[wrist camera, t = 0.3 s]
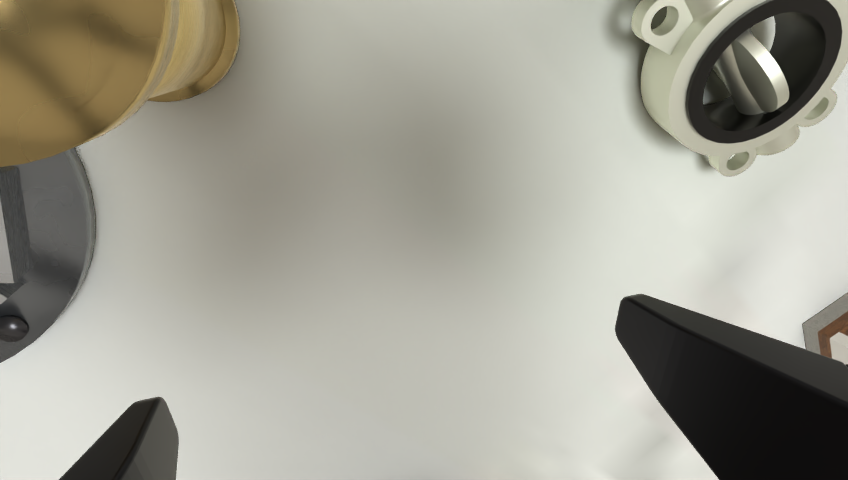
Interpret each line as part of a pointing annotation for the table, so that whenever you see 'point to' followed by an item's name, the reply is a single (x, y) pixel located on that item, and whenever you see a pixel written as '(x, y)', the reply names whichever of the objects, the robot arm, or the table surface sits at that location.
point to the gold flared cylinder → (102, 65)
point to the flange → (42, 245)
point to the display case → (829, 331)
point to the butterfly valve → (741, 73)
